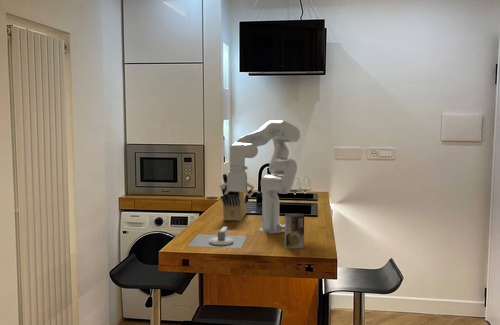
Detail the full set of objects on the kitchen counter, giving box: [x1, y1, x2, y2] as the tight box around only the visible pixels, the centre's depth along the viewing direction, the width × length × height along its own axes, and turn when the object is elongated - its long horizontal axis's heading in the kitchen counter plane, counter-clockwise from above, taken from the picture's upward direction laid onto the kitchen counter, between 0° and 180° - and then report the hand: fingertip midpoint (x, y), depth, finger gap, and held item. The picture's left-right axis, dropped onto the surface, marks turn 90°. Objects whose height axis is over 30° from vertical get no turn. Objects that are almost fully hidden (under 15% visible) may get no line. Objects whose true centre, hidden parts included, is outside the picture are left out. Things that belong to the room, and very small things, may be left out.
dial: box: [209, 226, 233, 245], centre depth 254 cm, size 18×12×5 cm, turn 173°
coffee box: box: [284, 213, 305, 249], centre depth 250 cm, size 9×6×16 cm
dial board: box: [187, 234, 248, 249], centre depth 255 cm, size 26×24×2 cm
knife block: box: [220, 173, 248, 222], centre depth 316 cm, size 11×35×31 cm, turn 171°
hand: (236, 202), depth 255 cm, fingers open, 9 cm apart
